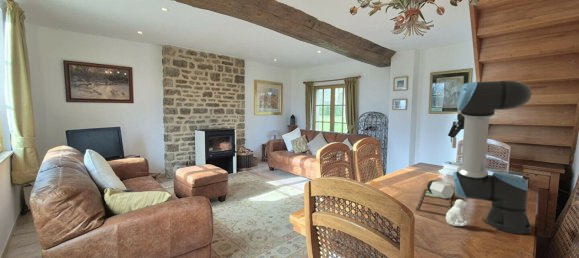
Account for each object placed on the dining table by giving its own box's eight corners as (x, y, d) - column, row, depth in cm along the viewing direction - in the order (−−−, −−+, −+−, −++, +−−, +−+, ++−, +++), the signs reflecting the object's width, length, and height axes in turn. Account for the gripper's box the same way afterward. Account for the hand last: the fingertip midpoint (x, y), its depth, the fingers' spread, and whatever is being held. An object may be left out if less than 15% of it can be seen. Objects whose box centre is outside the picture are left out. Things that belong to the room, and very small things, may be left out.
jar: (456, 188, 148) (440, 183, 160) (446, 182, 147) (430, 177, 158) (449, 201, 148) (434, 195, 159) (439, 195, 146) (424, 190, 158)
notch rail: (454, 217, 121) (455, 205, 121) (415, 210, 130) (416, 198, 130) (455, 194, 157) (455, 184, 157) (424, 190, 166) (424, 181, 166)
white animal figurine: (448, 220, 118) (448, 195, 117) (470, 226, 112) (471, 199, 111) (444, 224, 113) (444, 198, 113) (466, 230, 107) (467, 203, 106)
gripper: (491, 113, 138) (489, 151, 139) (451, 113, 162) (450, 146, 163) (480, 113, 136) (479, 152, 137) (442, 113, 160) (441, 147, 161)
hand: (463, 149), depth 150 cm, fingers open, 13 cm apart
